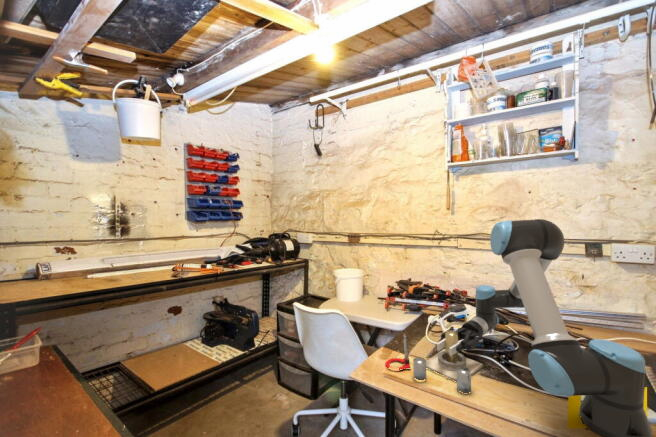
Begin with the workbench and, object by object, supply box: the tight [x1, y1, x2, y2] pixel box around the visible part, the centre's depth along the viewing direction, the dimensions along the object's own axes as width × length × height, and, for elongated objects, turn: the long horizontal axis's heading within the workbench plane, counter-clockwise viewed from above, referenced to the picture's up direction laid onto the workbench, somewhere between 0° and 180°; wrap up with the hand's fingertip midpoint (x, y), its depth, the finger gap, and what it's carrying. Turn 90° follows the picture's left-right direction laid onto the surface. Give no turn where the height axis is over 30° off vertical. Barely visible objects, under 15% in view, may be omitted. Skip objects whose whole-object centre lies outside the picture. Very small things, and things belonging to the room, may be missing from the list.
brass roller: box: [444, 329, 459, 363], centre depth 122 cm, size 4×4×11 cm
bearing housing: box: [426, 348, 484, 383], centre depth 123 cm, size 16×16×4 cm
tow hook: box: [384, 333, 411, 370], centre depth 125 cm, size 8×13×9 cm
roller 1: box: [412, 356, 427, 380], centre depth 116 cm, size 4×4×7 cm
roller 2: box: [456, 367, 472, 393], centre depth 109 cm, size 4×4×7 cm
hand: (444, 349), depth 119 cm, fingers closed on brass roller, 4 cm apart
